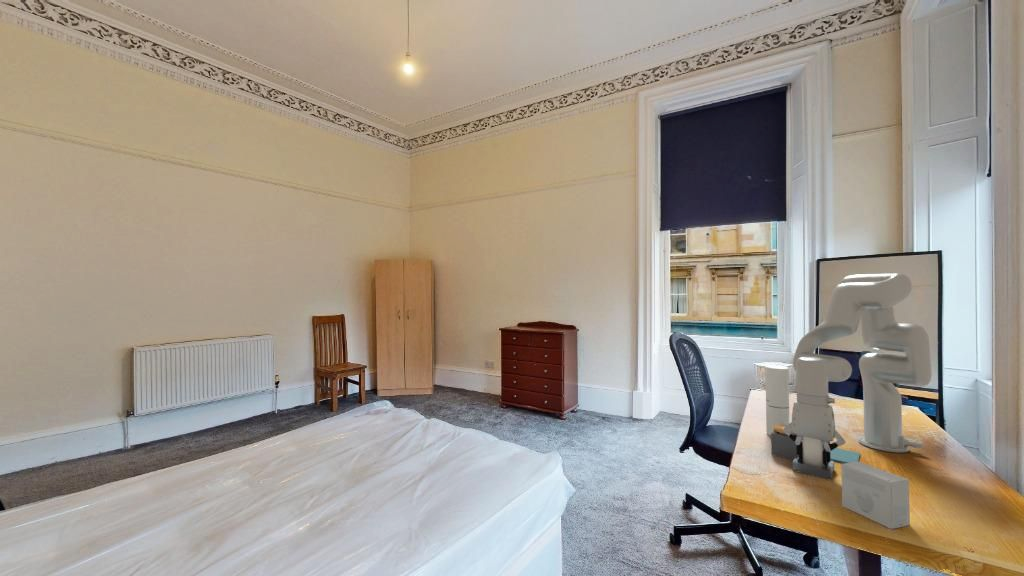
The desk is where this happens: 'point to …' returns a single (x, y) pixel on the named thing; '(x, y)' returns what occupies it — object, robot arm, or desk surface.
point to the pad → (844, 456)
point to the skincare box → (876, 494)
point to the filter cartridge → (812, 452)
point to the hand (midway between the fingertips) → (813, 460)
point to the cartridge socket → (813, 469)
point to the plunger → (780, 428)
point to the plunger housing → (783, 445)
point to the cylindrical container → (777, 396)
